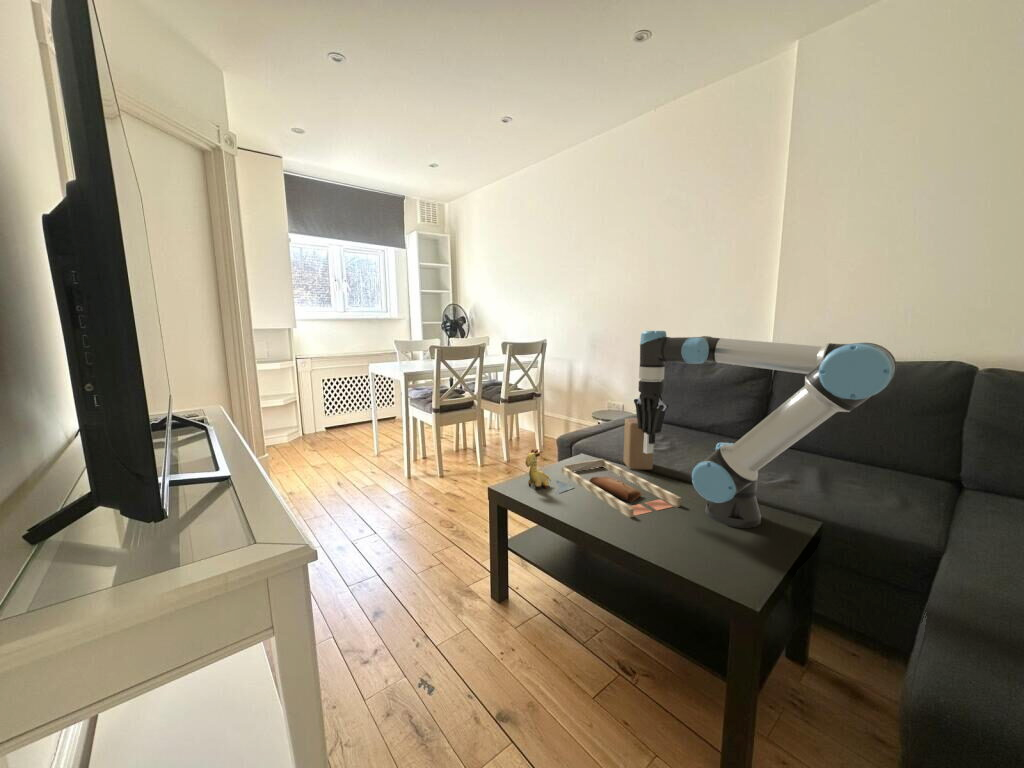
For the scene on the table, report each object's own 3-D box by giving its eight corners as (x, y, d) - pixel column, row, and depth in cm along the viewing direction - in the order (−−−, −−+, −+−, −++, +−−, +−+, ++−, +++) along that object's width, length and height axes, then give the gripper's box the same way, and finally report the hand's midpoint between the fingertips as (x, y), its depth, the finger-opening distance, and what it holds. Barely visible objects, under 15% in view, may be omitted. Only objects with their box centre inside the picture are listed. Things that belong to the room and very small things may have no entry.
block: (653, 470, 165) (655, 423, 163) (628, 470, 166) (630, 423, 163) (645, 462, 175) (647, 417, 173) (622, 462, 176) (624, 417, 173)
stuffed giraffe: (508, 489, 147) (508, 447, 145) (544, 478, 159) (544, 439, 156) (538, 504, 135) (538, 458, 133) (574, 490, 146) (575, 448, 144)
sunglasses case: (644, 492, 139) (636, 481, 135) (634, 509, 136) (626, 498, 133) (604, 476, 153) (596, 466, 150) (594, 491, 151) (586, 482, 147)
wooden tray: (680, 506, 132) (681, 494, 131) (629, 518, 124) (629, 506, 123) (604, 467, 169) (605, 458, 169) (561, 474, 161) (561, 465, 160)
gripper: (676, 381, 122) (672, 456, 125) (646, 377, 134) (643, 445, 137) (657, 383, 119) (653, 460, 122) (627, 378, 131) (625, 448, 134)
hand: (648, 452), depth 129 cm, fingers closed
